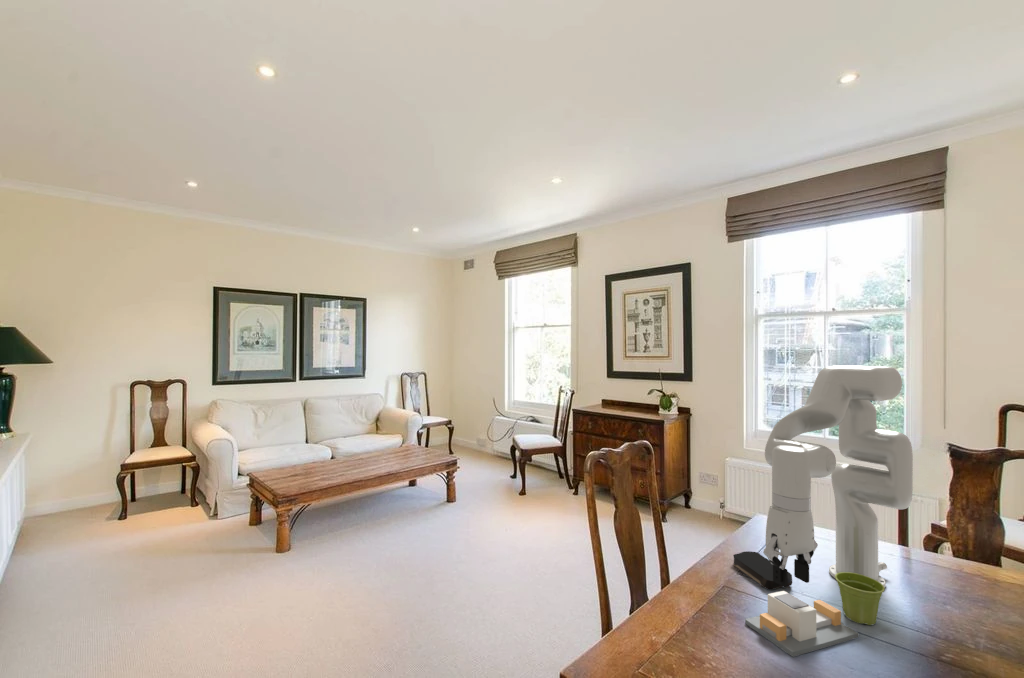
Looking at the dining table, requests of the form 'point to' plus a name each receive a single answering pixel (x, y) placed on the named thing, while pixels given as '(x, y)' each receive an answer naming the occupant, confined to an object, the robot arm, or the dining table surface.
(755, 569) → the black sponge
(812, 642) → the rail board
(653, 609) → the dining table surface
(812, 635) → the block
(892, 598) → the dining table surface
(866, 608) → the plant pot
